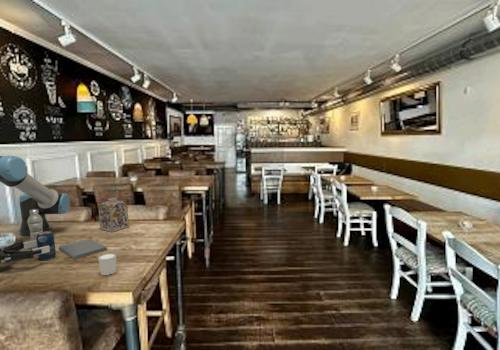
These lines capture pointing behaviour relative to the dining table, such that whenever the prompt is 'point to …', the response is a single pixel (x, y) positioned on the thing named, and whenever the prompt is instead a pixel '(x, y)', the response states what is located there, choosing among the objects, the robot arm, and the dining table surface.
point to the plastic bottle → (35, 224)
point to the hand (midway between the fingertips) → (44, 245)
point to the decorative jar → (113, 215)
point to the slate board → (82, 248)
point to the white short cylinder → (107, 264)
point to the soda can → (46, 244)
